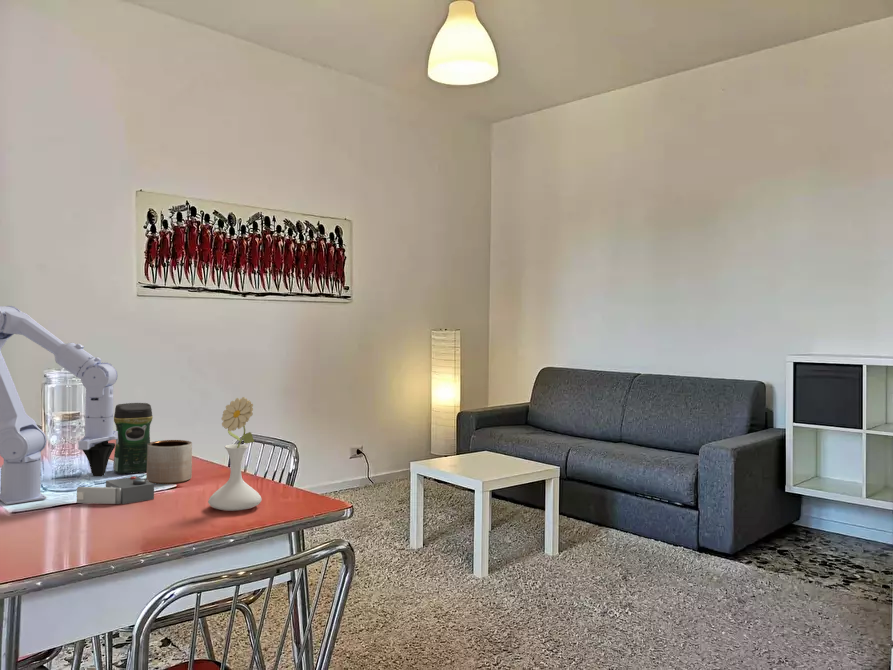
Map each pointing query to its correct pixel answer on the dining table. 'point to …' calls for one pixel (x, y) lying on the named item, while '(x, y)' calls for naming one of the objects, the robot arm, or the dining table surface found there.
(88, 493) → the side door
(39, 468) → the robot arm
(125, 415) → the coffee jar
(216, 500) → the flower in vase
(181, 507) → the dining table surface
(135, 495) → the grey switch box
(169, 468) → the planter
